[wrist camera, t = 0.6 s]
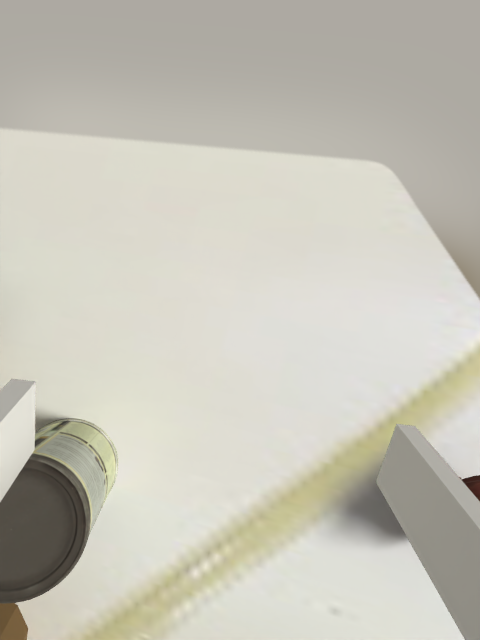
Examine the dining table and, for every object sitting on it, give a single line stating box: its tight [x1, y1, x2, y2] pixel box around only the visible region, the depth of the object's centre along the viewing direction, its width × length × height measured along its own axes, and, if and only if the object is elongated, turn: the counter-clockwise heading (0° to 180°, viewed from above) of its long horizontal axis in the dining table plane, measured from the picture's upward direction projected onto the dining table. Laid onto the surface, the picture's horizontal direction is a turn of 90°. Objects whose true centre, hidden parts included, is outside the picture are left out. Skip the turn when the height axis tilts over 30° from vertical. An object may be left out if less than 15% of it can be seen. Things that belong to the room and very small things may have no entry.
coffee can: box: [0, 419, 118, 604], centre depth 35 cm, size 10×10×14 cm
